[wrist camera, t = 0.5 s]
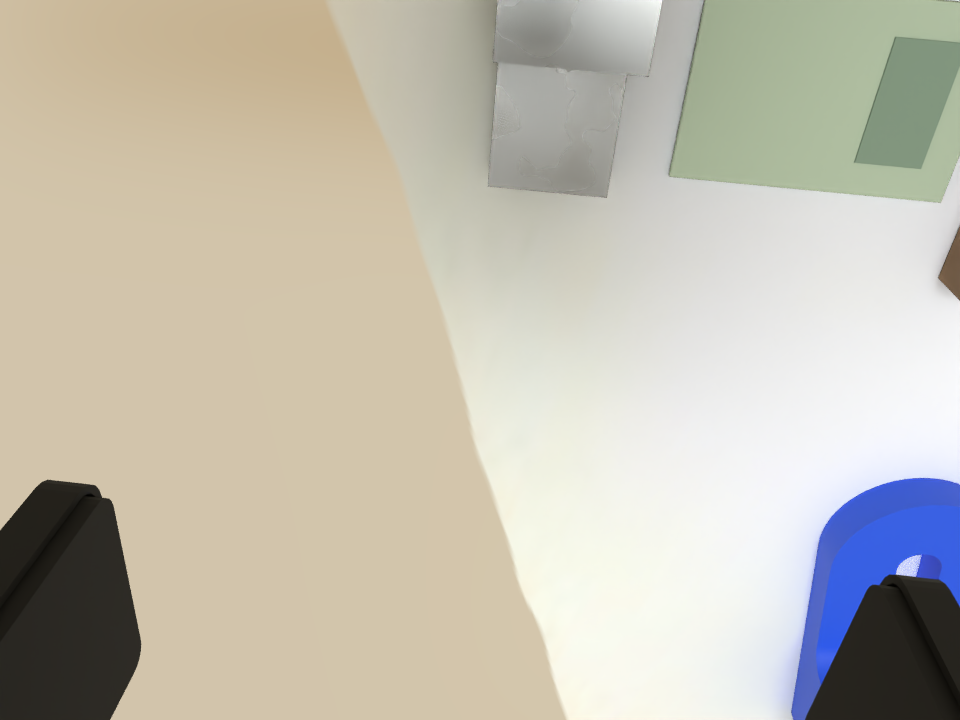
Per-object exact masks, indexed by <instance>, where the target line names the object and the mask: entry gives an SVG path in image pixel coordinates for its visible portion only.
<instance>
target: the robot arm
mask: <svg viewBox="0 0 960 720" xmlns="http://www.w3.org/2000/svg"><path fill="white" fill-rule="evenodd" d="M140 652H141V640H140V634H139V629H138V624H137V619H136V614H135V609H134V605H133V599H132V595H131V590H130V585H129V580H128V575H127V570H126V565H125V561H124V555H123V550H122V546H121V540H120V536H119V531H118V526H117V521H116V516H115V511H114V507H113V504H112V501H111V500H110V499H107V498H102V496H101V494H100V491H99V489H98V488H97V487H96V486H95V485H89V484H81V483H72V482H63V481H53V480H46V481H44V482H42V483H40V484H39V485H38V486H37V487H36V488H35V489H34V490H33V492H32V493H31V494H30V495H29V496H28V498H27V499H26V500H25V501H24V502H23V504H22V505H21V506H20V507H19V508H18V510H17V511H16V512H15V513H14V514H13V516H12V517H11V518H10V520H9V521H8V522H7V523H6V524H5V525H4V527H3V528H2V529H1V530H0V720H110V719H111V717H112V715H113V713H114V711H115V709H116V707H117V705H118V703H119V701H120V699H121V697H122V695H123V693H124V692H125V689H126V688H127V686H128V684H129V682H130V680H131V678H132V676H133V674H134V672H135V670H136V667H137V664H138V661H139V657H140ZM805 720H960V606H959V605H958V603H957V601H956V599H955V597H954V596H953V594H952V592H951V590H950V589H949V588H948V587H947V585H946V584H945V583H944V582H942V581H941V580H938V579H929V578H920V577H911V576H902V575H892V574H889V575H888V576H886V577H884V579H883V580H882V582H881V583H880V585H871V586H870V587H869V588H868V589H867V591H866V593H865V595H864V597H863V599H862V601H861V603H860V605H859V607H858V609H857V611H856V613H855V615H854V618H853V620H852V622H851V624H850V626H849V628H848V630H847V632H846V634H845V636H844V638H843V640H842V643H841V645H840V647H839V649H838V651H837V653H836V655H835V657H834V659H833V661H832V663H831V665H830V667H829V670H828V672H827V674H826V676H825V678H824V680H823V682H822V684H821V686H820V688H819V690H818V692H817V694H816V697H815V699H814V701H813V703H812V705H811V707H810V709H809V711H808V713H807V715H806V718H805Z"/></svg>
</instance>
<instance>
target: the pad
mask: <svg viewBox="0 0 960 720" xmlns="http://www.w3.org/2000/svg"><path fill="white" fill-rule="evenodd" d="M959 156H960V2H955V1H944V0H705V2H704V6H703V11H702V16H701V21H700V26H699V31H698V35H697V40H696V45H695V50H694V55H693V60H692V65H691V69H690V74H689V79H688V84H687V89H686V94H685V99H684V103H683V108H682V113H681V118H680V123H679V128H678V133H677V137H676V142H675V147H674V152H673V157H672V162H671V167H670V171H669V176H670V177H677V178H687V179H698V180H708V181H719V182H729V183H739V184H750V185H760V186H771V187H781V188H792V189H802V190H813V191H823V192H833V193H844V194H854V195H865V196H875V197H886V198H896V199H907V200H917V201H927V202H938V203H941V201H942V198H943V196H944V193H945V191H946V188H947V186H948V183H949V181H950V178H951V176H952V173H953V171H954V168H955V166H956V163H957V161H958V158H959Z"/></svg>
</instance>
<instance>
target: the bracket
mask: <svg viewBox="0 0 960 720" xmlns="http://www.w3.org/2000/svg"><path fill="white" fill-rule="evenodd" d="M921 554H922V557H921V561H920V565H919V569H918V572H917V576H916V577H920V578H929V579H938V580H941V581H942V582H944V583H945V584H946V585H947V587H948V588H949V589H950V590H951V592H952V594H953V596H954V597H955V599H956V601H957V603H958V605H959V606H960V485H959V484H956V483H953V482H950V481H945V480H940V479H931V478H913V479H904V480H899V481H894V482H890V483H886V484H883V485H880V486H877V487H874V488H872V489H870V490H867V491H865V492H863V493H861V494H859V495H858V496H856V497H854V498H853V499H851V500H850V501H848V502H847V503H846V504H844V505H843V506H842V507H841V508H840V509H839V510H838V511H837V512H836V513H835V514H834V515H833V516H832V517H831V518H830V520H829V521H828V523H827V524H826V526H825V527H824V529H823V531H822V534H821V536H820V540H819V545H818V551H817V557H816V563H815V569H814V575H813V582H812V588H811V594H810V600H809V606H808V612H807V618H806V625H805V631H804V637H803V643H802V649H801V655H800V661H799V668H798V674H797V680H796V686H795V692H794V698H793V704H792V711H791V713H792V716H793V720H805V718H806V715H807V713H808V711H809V709H810V707H811V705H812V703H813V701H814V699H815V697H816V694H817V692H818V690H819V688H820V686H821V684H822V682H823V680H824V678H825V676H826V674H827V672H828V670H829V667H830V665H831V663H832V661H833V659H834V657H835V655H836V653H837V651H838V649H839V647H840V645H841V643H842V640H843V638H844V636H845V634H846V632H847V630H848V628H849V626H850V624H851V622H852V620H853V618H854V615H855V613H856V611H857V609H858V607H859V605H860V603H861V601H862V599H863V597H864V595H865V593H866V591H867V589H868V588H869V587H870V586H871V585H880V583H881V582H882V580H883V579H884V577H886V576H888V575H889V574H892V575H895V574H896V570H897V568H898V566H899V565H900V563H901V562H903V561H904V560H905V559H907V558H909V557H912V556H915V555H921Z"/></svg>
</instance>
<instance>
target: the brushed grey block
mask: <svg viewBox="0 0 960 720" xmlns="http://www.w3.org/2000/svg"><path fill="white" fill-rule="evenodd" d="M661 5H662V0H498V3H497V15H496V28H495V40H494V53H493V62H495V63H498V70H497V82H496V94H495V106H494V118H493V130H492V142H491V154H490V166H489V178H488V186H490V187H500V188H511V189H521V190H532V191H542V192H552V193H563V194H573V195H584V196H594V197H604V198H607V193H608V187H609V181H610V175H611V169H612V163H613V157H614V151H615V145H616V139H617V133H618V127H619V121H620V115H621V109H622V103H623V97H624V91H625V85H626V79H627V75H635V76H645V77H649V71H650V66H651V60H652V55H653V49H654V44H655V38H656V33H657V27H658V22H659V16H660V10H661Z"/></svg>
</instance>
